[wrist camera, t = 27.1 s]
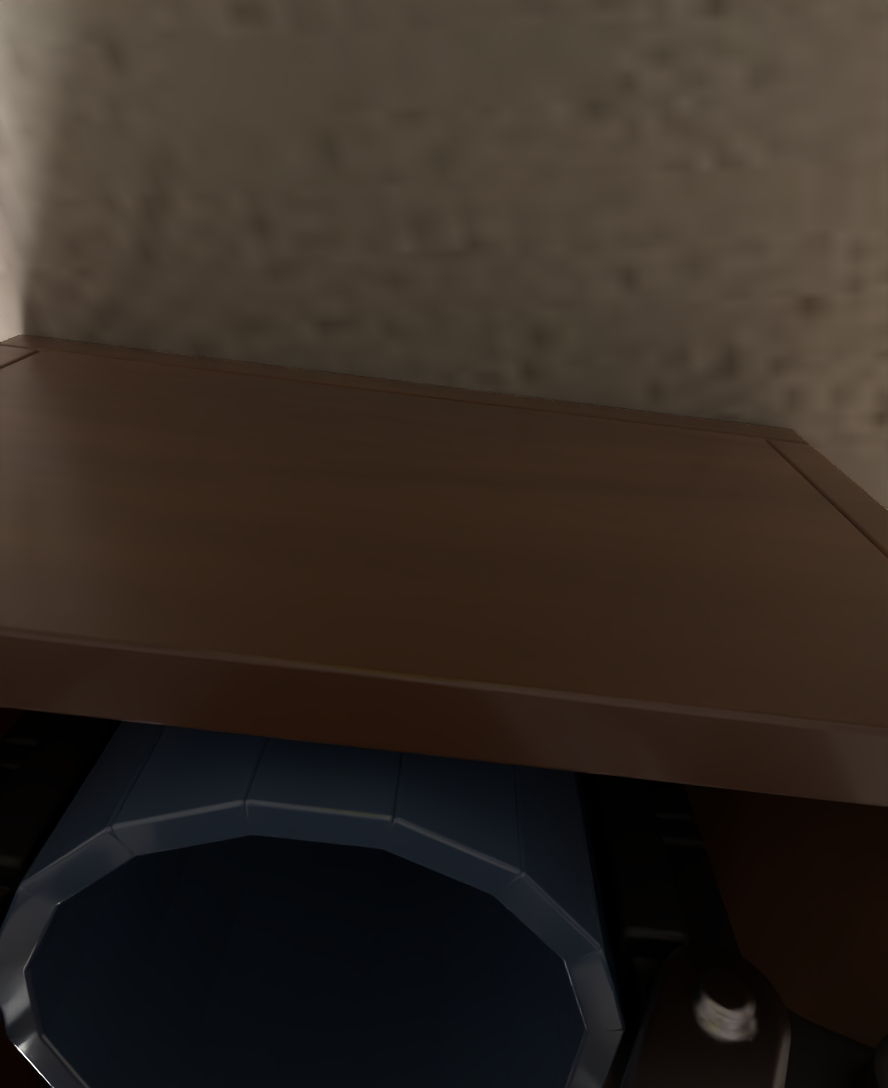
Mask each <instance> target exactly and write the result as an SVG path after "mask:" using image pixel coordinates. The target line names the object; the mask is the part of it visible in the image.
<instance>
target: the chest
mask: <svg viewBox="0 0 888 1088" xmlns="http://www.w3.org/2000/svg"><path fill="white" fill-rule="evenodd" d="M26 710H28V711H37V712H46V713H55V714H64V715H73V716H82V717H91V718H100V719H108V720H117V721H126V722H135V723H144V724H153V725H162V726H171V727H180V728H188V729H197V730H206V731H215V732H224V733H233V734H242V735H251V736H260V737H268V738H277V739H286V740H295V741H304V742H313V743H322V744H331V745H340V746H348V747H357V748H366V749H375V750H384V751H393V752H402V753H411V754H420V755H428V756H437V757H446V758H455V759H464V760H473V761H482V762H491V763H500V764H509V765H517V766H526V767H535V768H544V769H553V770H562V771H571V772H580V773H589V774H597V775H606V776H615V777H624V778H633V779H642V780H651V781H660V782H669V783H677V784H683V785H684V787H685V789H686V792H687V795H688V798H689V801H690V804H691V807H692V810H693V813H694V816H695V823H697V825H698V828H699V831H700V834H701V837H702V840H703V849H706V852H707V855H708V858H709V861H710V864H711V867H712V870H713V873H714V876H715V879H716V882H717V885H718V888H719V891H720V894H721V897H722V900H723V903H724V906H725V909H726V912H727V915H728V918H729V921H730V924H731V927H732V930H733V933H734V936H735V939H736V942H737V945H738V947H739V950H740V952H741V955H742V957H743V958H745V959H746V960H747V961H749V962H750V963H751V964H753V965H754V966H755V967H756V968H757V969H759V970H760V971H761V972H762V973H763V974H764V975H765V976H766V978H767V979H768V980H769V981H770V982H771V983H772V985H773V986H774V988H775V989H776V991H777V992H778V994H779V995H780V997H781V999H782V1001H783V1003H784V1005H785V1006H786V1007H787V1008H788V1009H790V1010H792V1011H793V1012H795V1013H796V1014H798V1015H800V1016H801V1017H803V1018H805V1019H807V1020H809V1021H811V1022H813V1023H816V1024H818V1025H820V1026H823V1027H825V1028H827V1029H830V1030H832V1031H835V1032H837V1033H839V1034H842V1035H844V1036H846V1037H849V1038H851V1039H853V1040H856V1041H858V1042H861V1043H863V1044H865V1045H868V1046H870V1047H872V1048H875V1049H876V1047H877V1046H878V1044H879V1043H880V1041H881V1040H882V1038H883V1037H884V1036H886V1035H887V1034H888V510H887V509H885V508H884V507H883V506H882V505H881V504H880V503H878V502H877V501H876V500H875V499H874V498H873V497H871V496H870V495H869V494H868V493H867V492H865V491H864V490H863V489H862V488H861V487H860V486H858V485H857V484H856V483H855V482H854V481H852V480H851V479H850V478H849V477H848V476H847V475H845V474H844V473H843V472H842V471H841V470H839V469H838V468H837V467H836V466H835V465H834V464H832V463H831V462H830V461H829V460H828V459H827V458H825V457H824V456H823V455H822V454H821V453H819V452H818V451H817V450H816V449H815V448H814V447H812V446H811V445H809V443H808V442H807V441H806V440H804V439H803V438H802V437H801V436H800V435H798V434H797V433H796V432H795V431H794V430H792V429H785V428H777V427H769V426H760V425H752V424H744V423H736V422H728V421H720V420H712V419H703V418H695V417H687V416H679V415H671V414H663V413H655V412H646V411H638V410H630V409H622V408H614V407H606V406H598V405H589V404H581V403H573V402H565V401H557V400H549V399H540V398H532V397H524V396H516V395H508V394H500V393H492V392H483V391H475V390H467V389H459V388H451V387H443V386H435V385H426V384H418V383H410V382H402V381H394V380H386V379H377V378H369V377H361V376H353V375H345V374H337V373H329V372H320V371H312V370H304V369H296V368H288V367H280V366H272V365H263V364H255V363H247V362H239V361H231V360H223V359H214V358H206V357H198V356H190V355H182V354H174V353H166V352H157V351H149V350H141V349H133V348H125V347H117V346H109V345H100V344H92V343H84V342H76V341H68V340H60V339H52V338H43V337H35V336H27V335H18V336H16V337H13V338H10V339H8V340H5V341H3V342H0V744H1V743H2V741H3V737H4V736H5V735H6V734H7V732H8V731H9V730H10V729H11V727H12V726H13V725H14V724H15V723H16V721H17V720H18V719H19V718H20V716H21V715H22V714H23V713H24V712H25V711H26ZM0 1088H52V1087H51V1086H50V1085H49V1083H48V1082H47V1081H46V1080H45V1079H44V1078H43V1077H42V1076H41V1075H40V1074H39V1072H38V1071H37V1070H36V1069H35V1068H34V1067H33V1066H32V1065H31V1064H30V1062H29V1061H28V1060H27V1059H26V1058H25V1057H24V1056H23V1055H22V1054H21V1052H20V1051H19V1050H18V1049H17V1048H16V1047H15V1046H14V1045H13V1044H12V1042H11V1041H10V1040H9V1039H8V1035H6V1034H5V1030H4V1026H3V1022H2V1021H1V1022H0ZM604 1088H612V1086H611V1079H610V1073H609V1075H608V1077H607V1080H606V1083H605V1085H604Z"/></svg>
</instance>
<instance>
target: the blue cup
mask: <svg viewBox="0 0 888 1088" xmlns="http://www.w3.org/2000/svg"><path fill="white" fill-rule="evenodd" d="M0 1014H1V1018H2V1022H3V1026H4V1030H5V1034H6V1035H8V1039H9V1040H10V1041H11V1042H12V1044H13V1045H14V1046H15V1047H16V1048H17V1049H18V1050H19V1051H20V1052H21V1054H22V1055H23V1056H24V1057H25V1058H26V1059H27V1060H28V1061H29V1062H30V1064H31V1065H32V1066H33V1067H34V1068H35V1069H36V1070H37V1071H38V1072H39V1074H40V1075H41V1076H42V1077H43V1078H44V1079H45V1080H46V1081H47V1082H48V1083H49V1085H50V1086H51V1087H52V1088H604V1085H605V1083H606V1080H607V1077H608V1075H609V1072H610V1069H611V1067H612V1064H613V1062H614V1059H615V1056H616V1054H617V1051H618V1048H619V1046H620V1043H621V1040H622V1038H623V1035H624V1033H625V1024H626V1022H625V1016H624V1010H623V1005H622V999H621V993H620V987H619V982H618V976H617V970H616V965H615V960H614V955H613V949H612V943H611V937H610V932H609V926H608V920H607V914H606V909H605V903H604V897H603V892H602V886H601V880H600V874H599V869H598V863H597V857H596V852H595V846H594V840H593V834H592V829H591V823H590V817H589V811H588V806H587V800H586V794H585V789H584V783H583V777H582V773H580V772H571V771H562V770H553V769H544V768H535V767H526V766H517V765H509V764H500V763H491V762H482V761H473V760H464V759H455V758H446V757H437V756H428V755H420V754H411V753H402V752H393V751H384V750H375V749H366V748H357V747H348V746H340V745H331V744H322V743H313V742H304V741H295V740H286V739H277V738H268V737H260V736H251V735H242V734H233V733H224V732H215V731H206V730H197V729H188V728H180V727H171V726H162V725H153V724H144V723H135V722H126V721H122V722H121V723H120V725H119V727H118V728H117V730H116V731H115V733H114V735H113V736H112V738H111V739H110V741H109V743H108V744H107V746H106V747H105V749H104V751H103V752H102V754H101V755H100V757H99V758H98V760H97V762H96V763H95V765H94V766H93V768H92V770H91V771H90V773H89V774H88V776H87V778H86V779H85V781H84V782H83V784H82V786H81V787H80V789H79V790H78V792H77V793H76V795H75V797H74V798H73V800H72V801H71V803H70V805H69V806H68V808H67V809H66V811H65V813H64V814H63V816H62V817H61V819H60V821H59V822H58V824H57V825H56V827H55V828H54V830H53V832H52V833H51V835H50V836H49V838H48V840H47V841H46V843H45V844H44V846H43V848H42V849H41V851H40V852H39V854H38V856H37V857H36V859H35V860H34V862H33V863H32V865H31V867H30V868H29V870H28V871H27V873H26V875H25V876H24V878H23V879H22V881H21V883H20V884H19V886H18V888H17V891H16V893H15V895H14V897H13V900H12V902H11V904H10V907H9V909H8V911H7V914H6V916H5V918H4V921H3V923H2V925H1V928H0Z"/></svg>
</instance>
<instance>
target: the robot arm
mask: <svg viewBox="0 0 888 1088" xmlns="http://www.w3.org/2000/svg"><path fill="white" fill-rule="evenodd" d="M121 722H122V721H117V720H108V719H100V718H91V717H82V716H73V715H64V714H55V713H46V712H37V711H28V710H26V711H25V712H24V713H23V714H22V715H21V716H20V718H19V719H18V720H17V721H16V723H15V724H14V725H13V726H12V727H11V729H10V730H9V731H8V732H7V734H6V735H5V736H4V737H3V741H2V743H1V744H0V928H1V925H2V923H3V921H4V918H5V916H6V914H7V911H8V909H9V907H10V904H11V902H12V900H13V897H14V895H15V893H16V891H17V888H18V886H19V884H20V883H21V881H22V879H23V878H24V876H25V875H26V873H27V871H28V870H29V868H30V867H31V865H32V863H33V862H34V860H35V859H36V857H37V856H38V854H39V852H40V851H41V849H42V848H43V846H44V844H45V843H46V841H47V840H48V838H49V836H50V835H51V833H52V832H53V830H54V828H55V827H56V825H57V824H58V822H59V821H60V819H61V817H62V816H63V814H64V813H65V811H66V809H67V808H68V806H69V805H70V803H71V801H72V800H73V798H74V797H75V795H76V793H77V792H78V790H79V789H80V787H81V786H82V784H83V782H84V781H85V779H86V778H87V776H88V774H89V773H90V771H91V770H92V768H93V766H94V765H95V763H96V762H97V760H98V758H99V757H100V755H101V754H102V752H103V751H104V749H105V747H106V746H107V744H108V743H109V741H110V739H111V738H112V736H113V735H114V733H115V731H116V730H117V728H118V727H119V725H120V723H121ZM582 777H583V783H584V789H585V794H586V800H587V806H588V811H589V817H590V823H591V829H592V834H593V840H594V846H595V852H596V857H597V863H598V869H599V874H600V880H601V886H602V892H603V897H604V903H605V909H606V914H607V920H608V926H609V932H610V937H611V943H612V949H613V955H614V960H615V965H616V970H617V976H618V982H619V987H620V993H621V999H622V1005H623V1010H624V1016H625V1022H626V1024H625V1033H624V1035H623V1038H622V1040H621V1043H620V1046H619V1048H618V1051H617V1054H616V1056H615V1059H614V1062H613V1064H612V1067H611V1069H610V1072H609V1073H610V1079H611V1086H612V1088H888V1034H887V1035H886V1036H884V1037H883V1038H882V1040H881V1041H880V1043H879V1044H878V1046H877V1047H876V1049H875V1048H872V1047H870V1046H868V1045H865V1044H863V1043H861V1042H858V1041H856V1040H853V1039H851V1038H849V1037H846V1036H844V1035H842V1034H839V1033H837V1032H835V1031H832V1030H830V1029H827V1028H825V1027H823V1026H820V1025H818V1024H816V1023H813V1022H811V1021H809V1020H807V1019H805V1018H803V1017H801V1016H800V1015H798V1014H796V1013H795V1012H793V1011H792V1010H790V1009H788V1008H787V1007H786V1006H785V1005H784V1003H783V1001H782V999H781V997H780V995H779V994H778V992H777V991H776V989H775V988H774V986H773V985H772V983H771V982H770V981H769V980H768V979H767V978H766V976H765V975H764V974H763V973H762V972H761V971H760V970H759V969H757V968H756V967H755V966H754V965H753V964H751V963H750V962H749V961H747V960H746V959H745V958H743V957H742V955H741V952H740V950H739V947H738V945H737V942H736V939H735V936H734V933H733V930H732V927H731V924H730V921H729V918H728V915H727V912H726V909H725V906H724V903H723V900H722V897H721V894H720V891H719V888H718V885H717V882H716V879H715V876H714V873H713V870H712V867H711V864H710V861H709V858H708V855H707V852H706V849H703V840H702V837H701V834H700V831H699V828H698V825H697V823H695V816H694V813H693V810H692V807H691V804H690V801H689V798H688V795H687V792H686V789H685V787H684V785H683V784H677V783H669V782H660V781H651V780H642V779H633V778H624V777H615V776H606V775H597V774H589V773H582ZM1 1021H2V1018H1V1014H0V1022H1Z"/></svg>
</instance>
